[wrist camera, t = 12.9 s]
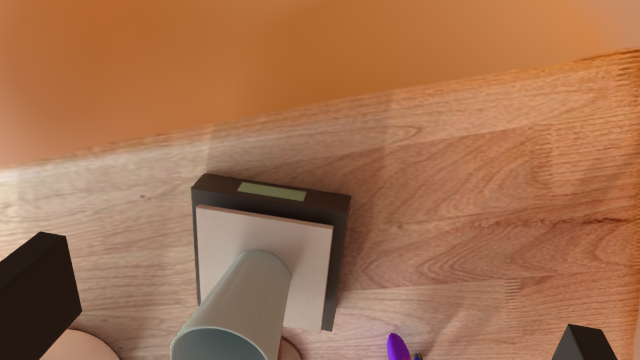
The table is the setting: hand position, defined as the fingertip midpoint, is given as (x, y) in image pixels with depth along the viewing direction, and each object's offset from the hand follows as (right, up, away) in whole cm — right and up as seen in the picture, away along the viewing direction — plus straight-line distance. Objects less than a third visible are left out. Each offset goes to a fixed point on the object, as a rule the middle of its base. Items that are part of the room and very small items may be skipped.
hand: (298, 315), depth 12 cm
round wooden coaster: (-5, -17, +40) cm, 44 cm away
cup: (-5, -5, +29) cm, 30 cm away
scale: (-4, -3, +33) cm, 33 cm away
